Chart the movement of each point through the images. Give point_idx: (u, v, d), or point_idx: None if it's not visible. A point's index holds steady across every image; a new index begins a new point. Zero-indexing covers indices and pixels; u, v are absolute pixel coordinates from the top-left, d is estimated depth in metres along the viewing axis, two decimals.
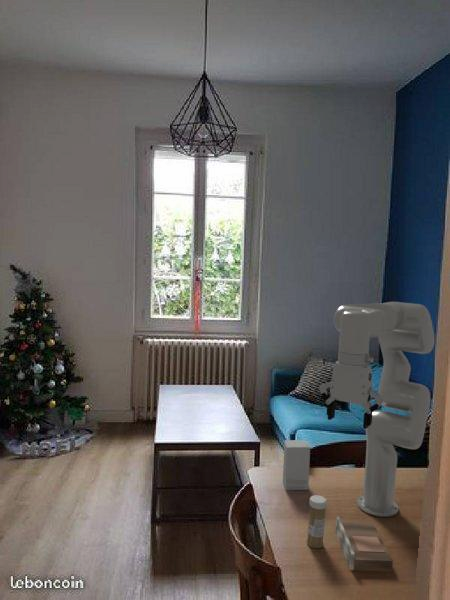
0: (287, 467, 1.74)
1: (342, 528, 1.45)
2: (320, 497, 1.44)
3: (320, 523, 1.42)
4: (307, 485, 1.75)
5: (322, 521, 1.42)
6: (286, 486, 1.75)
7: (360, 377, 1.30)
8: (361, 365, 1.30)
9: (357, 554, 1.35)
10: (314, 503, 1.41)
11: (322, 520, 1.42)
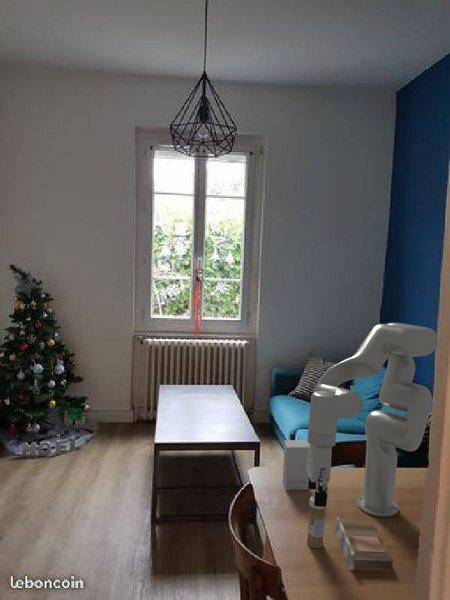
0: (287, 467, 1.74)
1: (342, 528, 1.45)
2: None
3: (320, 523, 1.42)
4: (307, 485, 1.75)
5: (322, 521, 1.42)
6: (286, 486, 1.75)
7: None
8: None
9: (357, 554, 1.35)
10: None
11: (322, 520, 1.42)
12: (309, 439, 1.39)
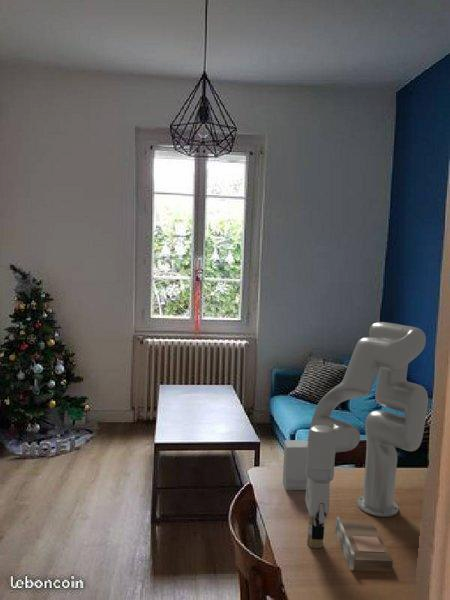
0: (287, 467, 1.74)
1: (342, 528, 1.45)
2: None
3: None
4: None
5: None
6: (286, 486, 1.75)
7: None
8: None
9: (357, 554, 1.35)
10: None
11: None
12: (307, 473, 1.41)
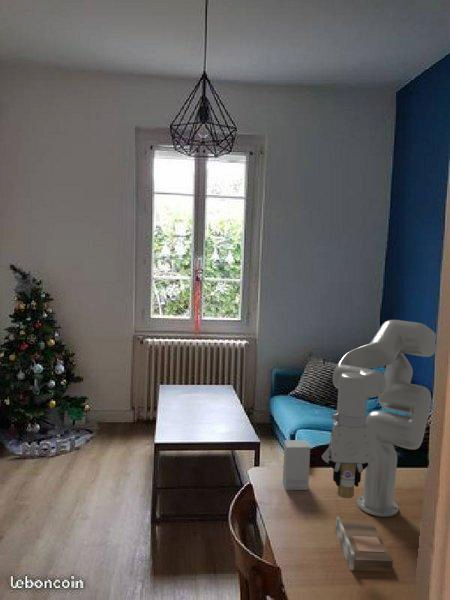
0: (287, 467, 1.74)
1: (342, 528, 1.45)
2: None
3: None
4: (307, 485, 1.75)
5: None
6: (286, 486, 1.75)
7: None
8: None
9: (357, 554, 1.35)
10: None
11: None
12: (358, 425, 1.35)
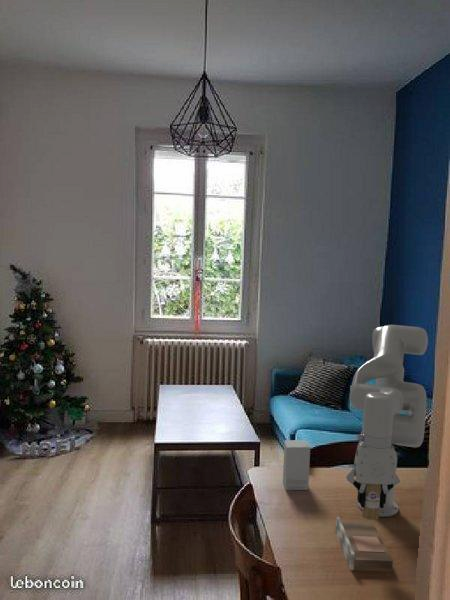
0: (287, 467, 1.74)
1: (342, 528, 1.45)
2: None
3: None
4: (307, 485, 1.75)
5: None
6: (286, 486, 1.75)
7: None
8: None
9: (357, 554, 1.35)
10: None
11: None
12: (384, 446, 1.33)
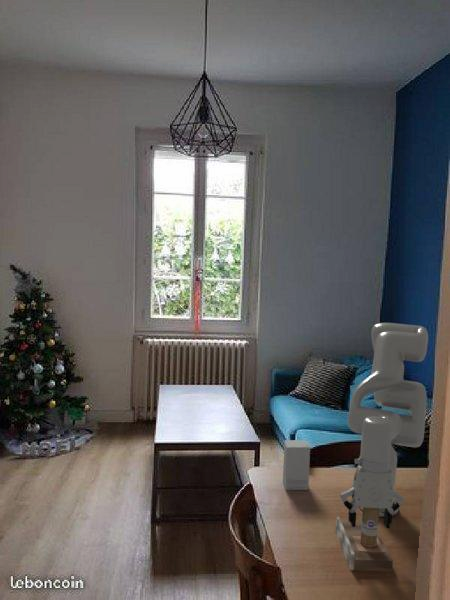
0: (287, 467, 1.74)
1: (342, 528, 1.45)
2: None
3: None
4: (307, 485, 1.75)
5: None
6: (286, 486, 1.75)
7: None
8: None
9: (357, 554, 1.35)
10: None
11: None
12: (382, 471, 1.34)
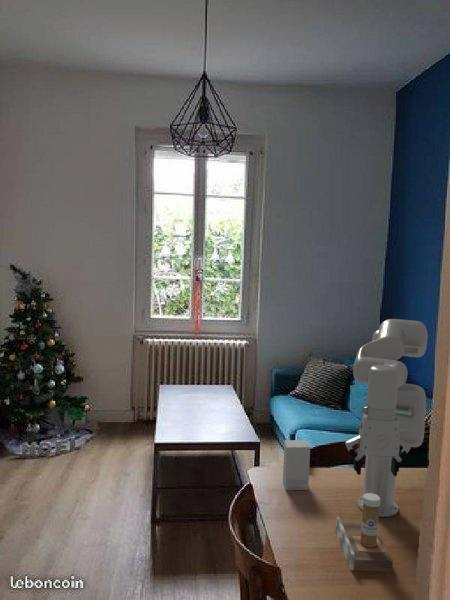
0: (287, 467, 1.74)
1: (342, 528, 1.45)
2: (367, 494, 1.40)
3: None
4: (307, 485, 1.75)
5: None
6: (286, 486, 1.75)
7: None
8: None
9: (357, 554, 1.35)
10: (379, 500, 1.37)
11: None
12: (388, 418, 1.33)
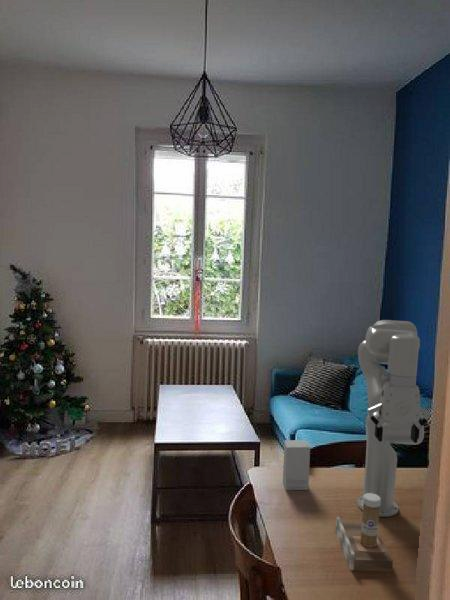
0: (287, 467, 1.74)
1: (342, 528, 1.45)
2: (368, 495, 1.39)
3: None
4: (307, 485, 1.75)
5: None
6: (286, 486, 1.75)
7: None
8: None
9: (357, 554, 1.35)
10: (380, 500, 1.37)
11: None
12: (410, 385, 1.38)
